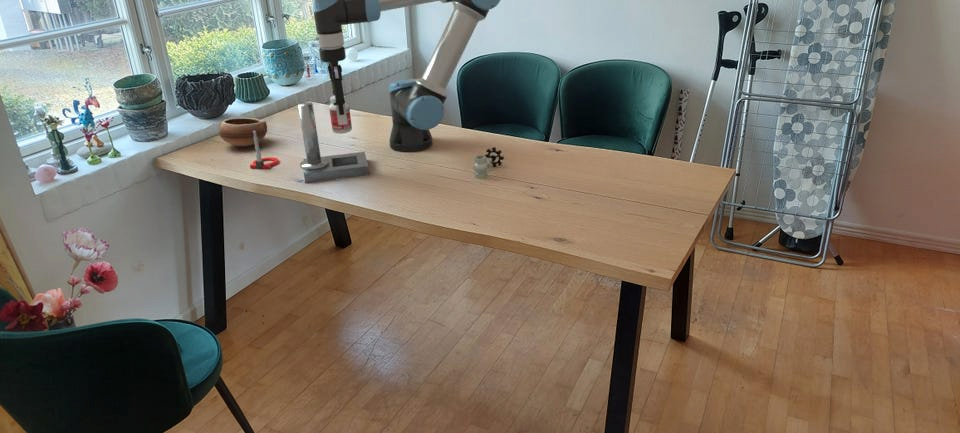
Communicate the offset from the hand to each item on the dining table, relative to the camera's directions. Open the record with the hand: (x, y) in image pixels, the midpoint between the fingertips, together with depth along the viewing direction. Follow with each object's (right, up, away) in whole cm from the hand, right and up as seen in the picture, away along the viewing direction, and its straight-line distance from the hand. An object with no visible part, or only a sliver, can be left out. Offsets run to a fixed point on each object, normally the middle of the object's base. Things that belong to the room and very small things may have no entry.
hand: (341, 120), depth 214 cm
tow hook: (-29, -13, +16) cm, 36 cm away
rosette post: (-4, -15, +7) cm, 17 cm away
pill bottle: (0, -3, +2) cm, 3 cm away
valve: (+45, -16, +1) cm, 48 cm away
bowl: (-42, -4, +35) cm, 55 cm away
